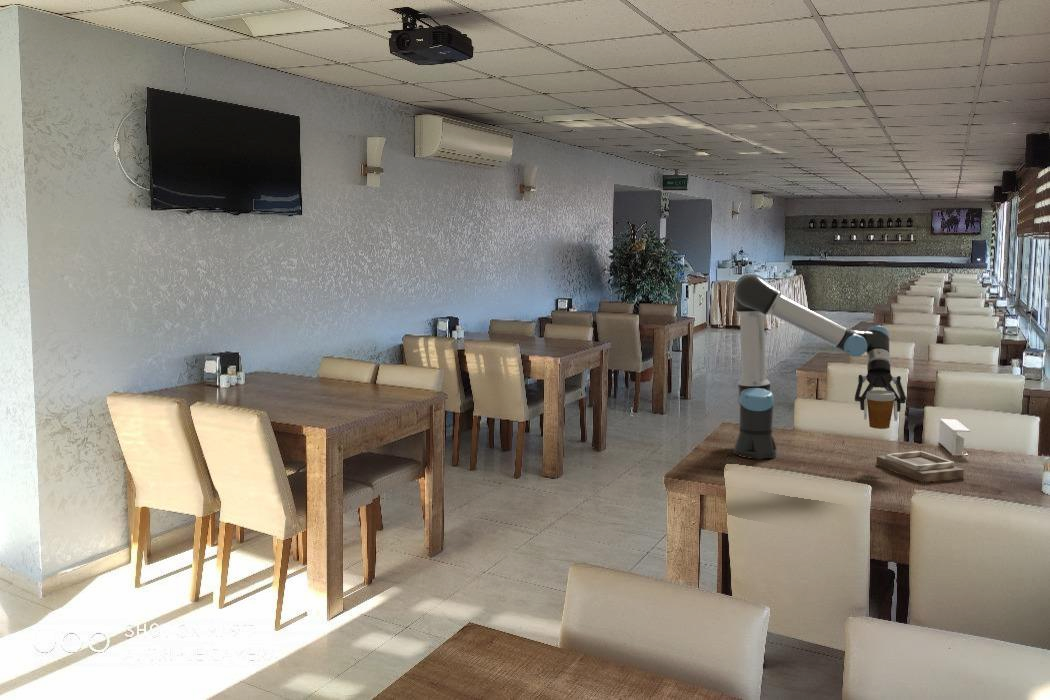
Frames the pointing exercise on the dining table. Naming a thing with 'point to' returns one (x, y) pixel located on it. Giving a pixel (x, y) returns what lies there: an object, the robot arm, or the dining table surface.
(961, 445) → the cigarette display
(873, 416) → the disposable coffee cup
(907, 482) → the dining table surface
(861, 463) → the dining table surface
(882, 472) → the dining table surface
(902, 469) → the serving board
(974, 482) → the dining table surface
